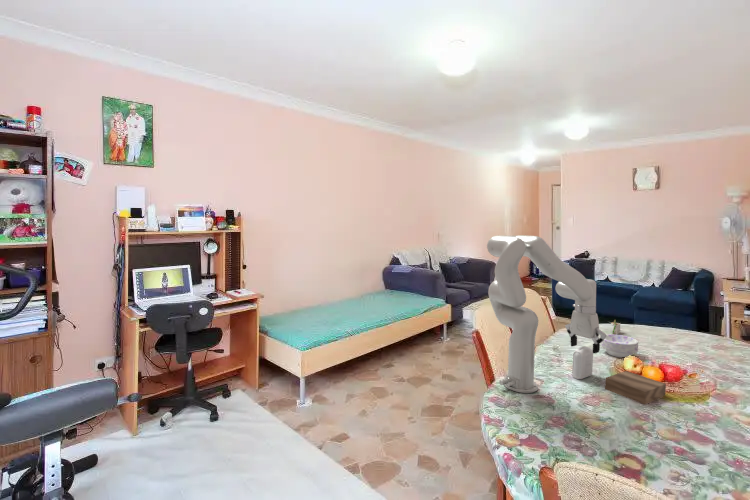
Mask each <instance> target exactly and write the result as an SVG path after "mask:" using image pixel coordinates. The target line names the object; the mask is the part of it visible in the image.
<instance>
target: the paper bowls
mask: <svg viewBox="0 0 750 500" xmlns="http://www.w3.org/2000/svg"><path fill="white" fill-rule="evenodd" d="M606 335H607V336H606V338H605V339H604V341H602V342H601V343H600V348H602V349H604V350H605V352H606V354H608V355H610V356H612V357H617V358H622V357H626V356H629V355H632V356H633V354H637V353H638V352H639V340H637V339H636V338H634V337H631V336H627V335H622V334H617V335H616V334H615V335H614V334H613V333H609V334H606ZM626 358H627V357H626Z"/></svg>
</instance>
